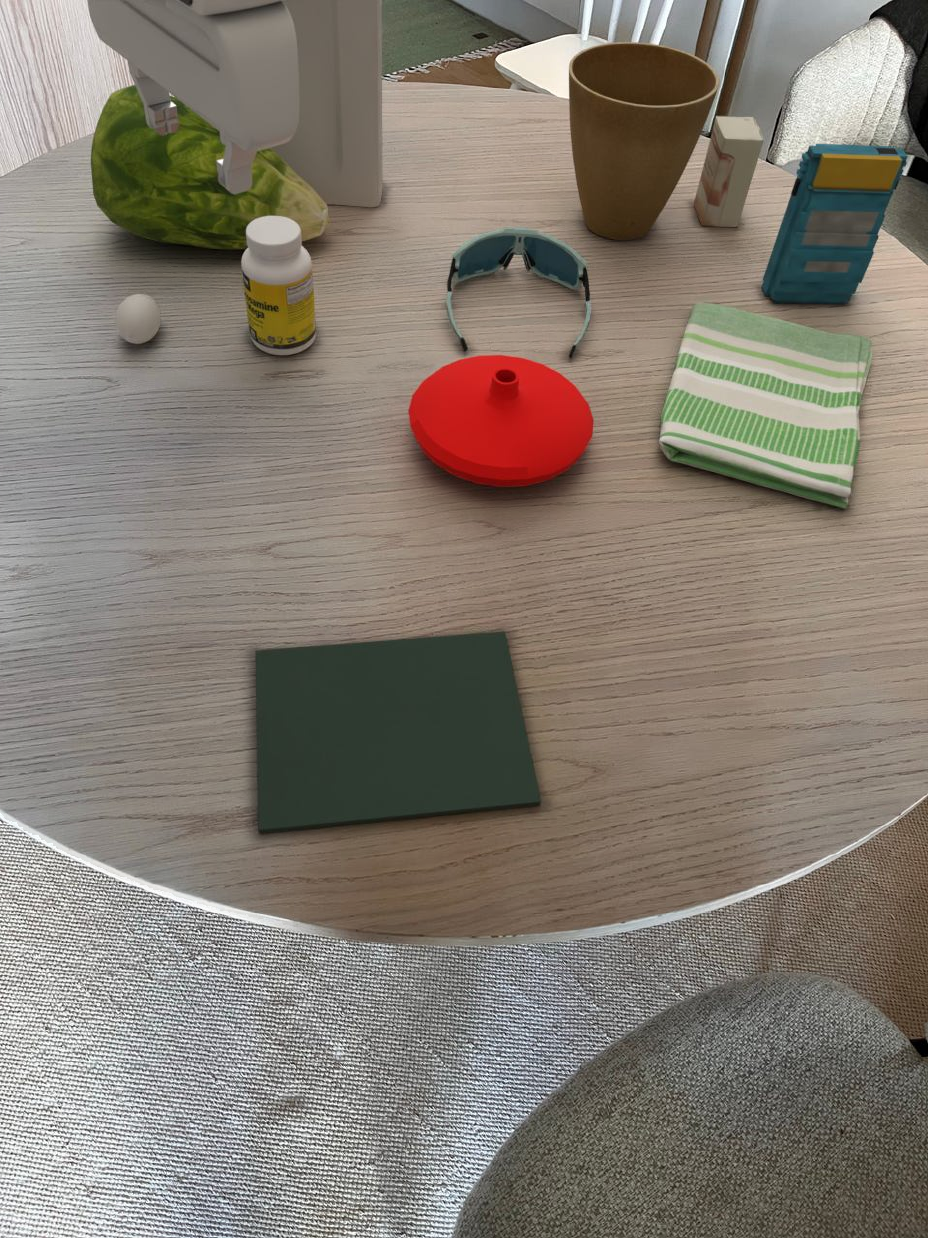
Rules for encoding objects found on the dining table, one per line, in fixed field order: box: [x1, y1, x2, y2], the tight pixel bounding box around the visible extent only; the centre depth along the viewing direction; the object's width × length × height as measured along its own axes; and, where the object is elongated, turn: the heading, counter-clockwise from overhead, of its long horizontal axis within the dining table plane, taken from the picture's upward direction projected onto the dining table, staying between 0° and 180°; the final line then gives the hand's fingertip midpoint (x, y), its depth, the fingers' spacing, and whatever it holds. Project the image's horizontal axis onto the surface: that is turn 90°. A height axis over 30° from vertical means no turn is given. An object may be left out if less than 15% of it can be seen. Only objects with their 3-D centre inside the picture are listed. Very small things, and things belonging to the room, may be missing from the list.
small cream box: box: [693, 115, 765, 228], centre depth 108 cm, size 5×4×10 cm
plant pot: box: [568, 41, 720, 241], centre depth 103 cm, size 15×15×16 cm
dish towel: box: [658, 302, 874, 510], centre depth 90 cm, size 18×23×3 cm
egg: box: [115, 293, 162, 345], centre depth 90 cm, size 4×6×4 cm, turn 176°
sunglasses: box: [445, 227, 592, 359], centre depth 96 cm, size 14×15×5 cm
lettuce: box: [90, 84, 330, 251], centre depth 99 cm, size 14×23×13 cm, turn 83°
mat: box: [255, 630, 542, 834], centre depth 67 cm, size 18×14×1 cm
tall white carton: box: [270, 0, 384, 208], centre depth 102 cm, size 19×15×28 cm
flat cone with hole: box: [407, 354, 595, 488], centre depth 83 cm, size 16×16×7 cm
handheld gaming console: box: [761, 143, 909, 305], centre depth 97 cm, size 10×4×15 cm, turn 93°
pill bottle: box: [240, 216, 317, 356], centre depth 89 cm, size 6×6×11 cm
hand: (198, 157), depth 68 cm, fingers open, 8 cm apart
